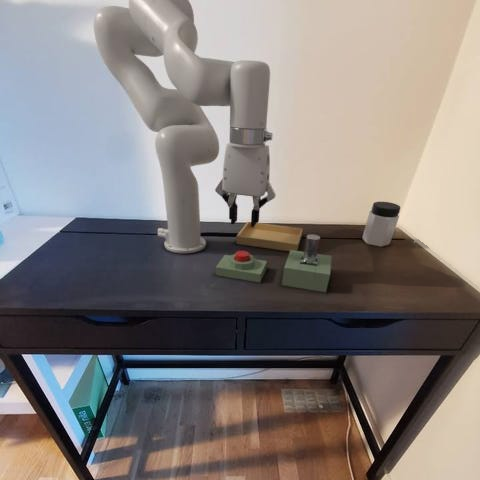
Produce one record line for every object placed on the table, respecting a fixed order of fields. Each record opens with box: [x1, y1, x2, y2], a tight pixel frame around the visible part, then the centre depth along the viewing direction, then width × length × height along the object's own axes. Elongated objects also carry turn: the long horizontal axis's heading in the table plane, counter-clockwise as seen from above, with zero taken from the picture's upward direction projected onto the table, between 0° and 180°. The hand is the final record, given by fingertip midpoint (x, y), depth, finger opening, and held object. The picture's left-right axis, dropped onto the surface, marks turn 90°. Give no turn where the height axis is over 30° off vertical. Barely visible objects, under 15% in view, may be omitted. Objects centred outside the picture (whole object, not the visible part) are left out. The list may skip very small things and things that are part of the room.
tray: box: [235, 221, 304, 252], centre depth 102 cm, size 19×14×3 cm
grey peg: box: [300, 233, 321, 266], centre depth 79 cm, size 4×4×12 cm
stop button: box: [234, 250, 250, 262], centre depth 81 cm, size 4×4×2 cm
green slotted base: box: [281, 250, 333, 293], centre depth 81 cm, size 11×11×5 cm
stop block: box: [215, 253, 268, 283], centre depth 83 cm, size 12×8×4 cm, turn 75°
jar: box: [361, 201, 401, 248], centre depth 101 cm, size 9×8×12 cm
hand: (243, 223), depth 76 cm, fingers open, 4 cm apart
